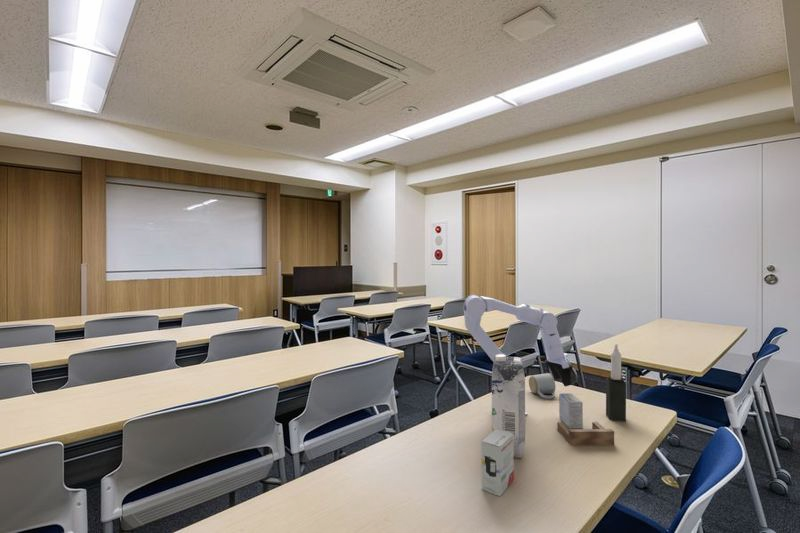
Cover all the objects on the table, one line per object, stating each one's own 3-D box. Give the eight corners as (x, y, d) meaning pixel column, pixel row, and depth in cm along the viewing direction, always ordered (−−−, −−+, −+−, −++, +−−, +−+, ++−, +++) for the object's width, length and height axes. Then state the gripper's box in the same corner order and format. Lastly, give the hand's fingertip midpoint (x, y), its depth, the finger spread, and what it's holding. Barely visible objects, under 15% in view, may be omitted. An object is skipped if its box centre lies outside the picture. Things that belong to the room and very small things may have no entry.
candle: (627, 421, 123) (627, 346, 122) (610, 420, 124) (610, 345, 123) (621, 415, 128) (621, 342, 127) (604, 413, 129) (605, 342, 128)
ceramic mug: (527, 390, 152) (527, 371, 152) (546, 389, 153) (546, 370, 153) (540, 400, 142) (540, 380, 141) (560, 399, 143) (560, 379, 142)
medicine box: (583, 429, 118) (583, 402, 118) (569, 429, 118) (569, 402, 118) (572, 418, 126) (572, 392, 126) (558, 418, 126) (558, 393, 126)
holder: (570, 445, 108) (571, 431, 108) (557, 429, 117) (557, 417, 117) (614, 445, 108) (614, 431, 108) (597, 429, 117) (597, 417, 117)
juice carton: (523, 442, 110) (523, 351, 109) (525, 461, 100) (525, 361, 99) (492, 438, 112) (492, 349, 111) (491, 457, 102) (491, 359, 101)
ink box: (496, 472, 95) (496, 426, 95) (514, 479, 92) (514, 432, 92) (480, 489, 88) (480, 440, 88) (500, 497, 85) (499, 446, 85)
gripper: (573, 346, 123) (583, 385, 123) (555, 337, 138) (564, 372, 138) (552, 352, 123) (563, 391, 123) (536, 342, 138) (546, 377, 138)
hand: (562, 381), depth 131 cm, fingers open, 7 cm apart
